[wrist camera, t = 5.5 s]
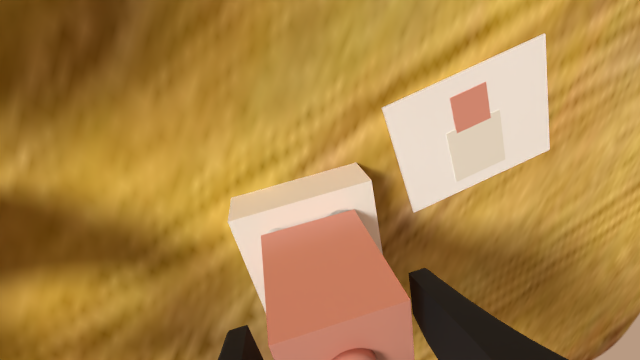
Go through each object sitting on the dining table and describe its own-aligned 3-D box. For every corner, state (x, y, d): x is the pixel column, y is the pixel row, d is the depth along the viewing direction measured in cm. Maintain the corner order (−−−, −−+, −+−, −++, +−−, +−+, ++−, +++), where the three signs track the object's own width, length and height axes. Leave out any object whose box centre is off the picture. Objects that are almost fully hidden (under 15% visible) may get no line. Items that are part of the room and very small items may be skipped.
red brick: (364, 278, 15) (421, 395, 10) (283, 303, 14) (302, 438, 9) (353, 209, 13) (417, 311, 8) (260, 235, 12) (269, 360, 8)
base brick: (370, 254, 17) (387, 285, 15) (267, 286, 17) (270, 323, 15) (353, 159, 15) (371, 180, 12) (231, 193, 14) (228, 221, 12)
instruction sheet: (548, 149, 16) (550, 150, 16) (412, 211, 16) (414, 213, 16) (543, 33, 14) (546, 33, 13) (381, 107, 13) (382, 108, 13)
